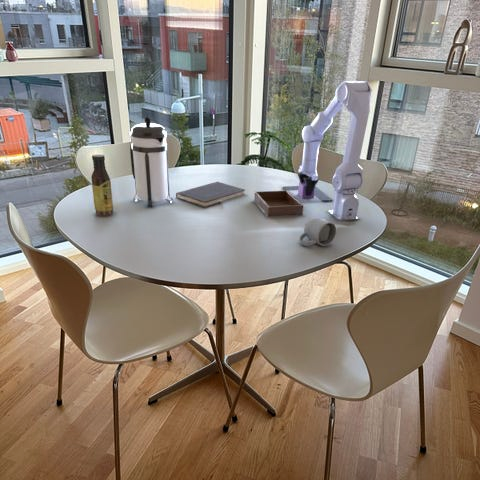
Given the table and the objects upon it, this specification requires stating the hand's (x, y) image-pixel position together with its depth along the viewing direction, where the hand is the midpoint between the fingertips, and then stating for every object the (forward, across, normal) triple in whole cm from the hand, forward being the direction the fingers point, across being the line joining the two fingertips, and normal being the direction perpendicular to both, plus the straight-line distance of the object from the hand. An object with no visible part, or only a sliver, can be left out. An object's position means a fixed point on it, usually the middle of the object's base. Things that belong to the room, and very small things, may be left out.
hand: (306, 193), depth 186 cm
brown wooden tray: (+2, +12, -16) cm, 20 cm away
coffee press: (+2, -4, -62) cm, 62 cm away
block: (+1, 0, 0) cm, 1 cm away
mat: (+2, -4, +2) cm, 5 cm away
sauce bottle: (+2, +8, -79) cm, 79 cm away
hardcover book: (+2, -6, -38) cm, 39 cm away
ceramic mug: (+2, +45, -14) cm, 47 cm away
